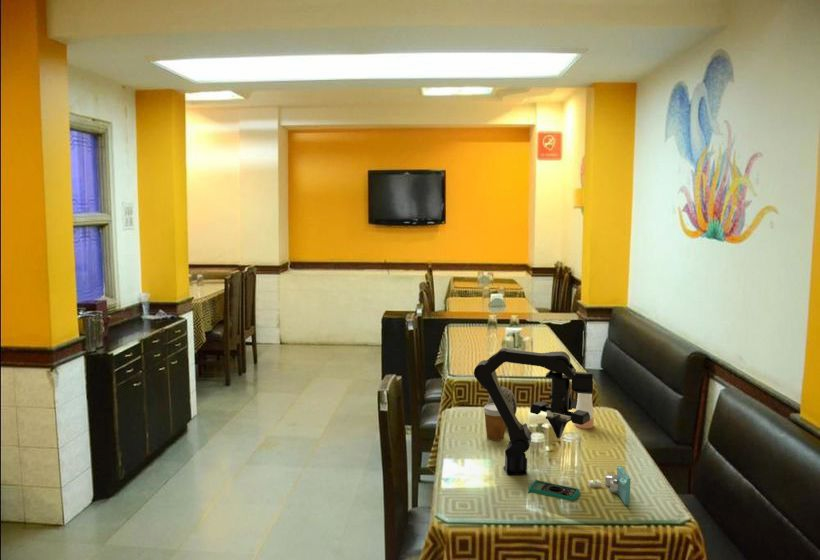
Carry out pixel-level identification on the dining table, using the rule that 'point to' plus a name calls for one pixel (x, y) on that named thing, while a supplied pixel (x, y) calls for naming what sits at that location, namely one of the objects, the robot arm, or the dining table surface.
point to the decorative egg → (509, 397)
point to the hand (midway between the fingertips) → (558, 437)
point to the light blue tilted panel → (621, 485)
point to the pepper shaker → (585, 408)
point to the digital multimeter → (554, 490)
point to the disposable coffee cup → (494, 422)
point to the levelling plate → (598, 483)
